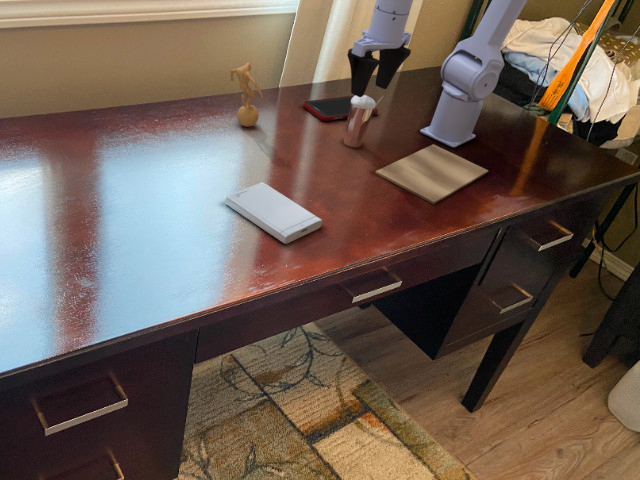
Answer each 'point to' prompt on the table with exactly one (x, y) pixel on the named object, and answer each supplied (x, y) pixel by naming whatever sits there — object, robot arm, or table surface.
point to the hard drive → (273, 212)
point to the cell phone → (331, 108)
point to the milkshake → (358, 120)
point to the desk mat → (432, 173)
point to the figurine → (247, 112)
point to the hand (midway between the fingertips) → (369, 90)
